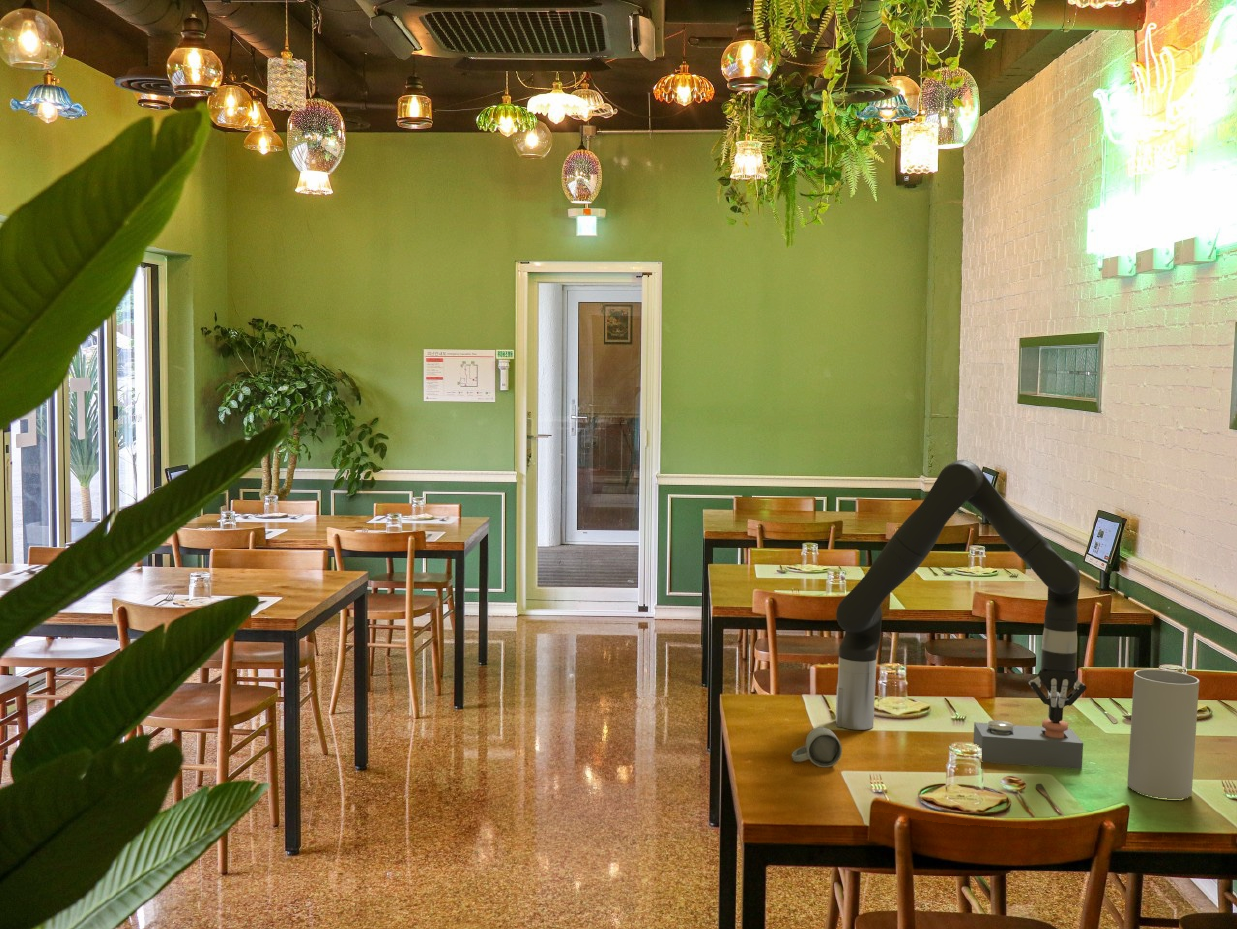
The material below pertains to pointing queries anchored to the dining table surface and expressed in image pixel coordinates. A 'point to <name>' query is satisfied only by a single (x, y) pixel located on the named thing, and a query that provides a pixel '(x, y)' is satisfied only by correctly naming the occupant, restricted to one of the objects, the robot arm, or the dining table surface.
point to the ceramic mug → (820, 748)
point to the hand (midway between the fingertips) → (1055, 722)
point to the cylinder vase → (1163, 733)
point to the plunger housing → (1029, 747)
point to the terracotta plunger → (1054, 728)
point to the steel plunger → (1000, 727)
